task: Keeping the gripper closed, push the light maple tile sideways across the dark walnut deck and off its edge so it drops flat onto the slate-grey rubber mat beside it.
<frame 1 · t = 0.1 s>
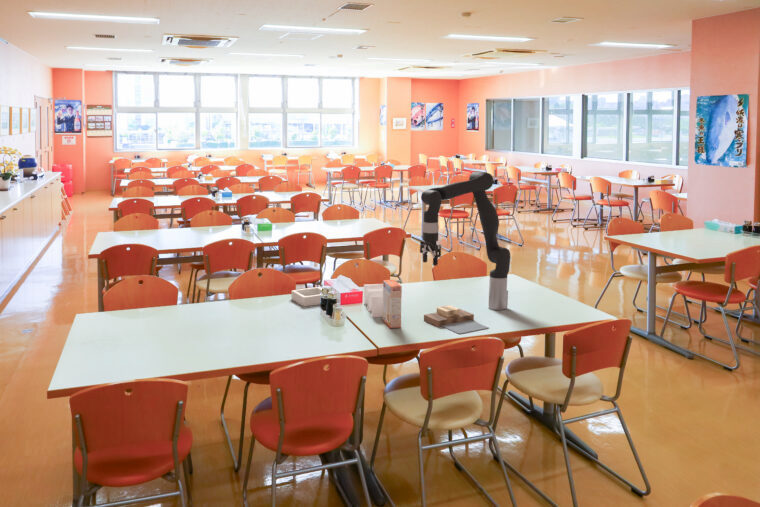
hand: (430, 263, 316), 29 cm above the table, fingers open, 8 cm apart
holder corral: (311, 300, 356), on the table
storage container: (378, 310, 340), on the table
maple tile: (447, 314, 323), point 3 cm above the table, touching walnut deck
cracker box: (391, 324, 316), on the table
rubber mat: (464, 327, 312), on the table
walnut deck: (448, 320, 322), on the table
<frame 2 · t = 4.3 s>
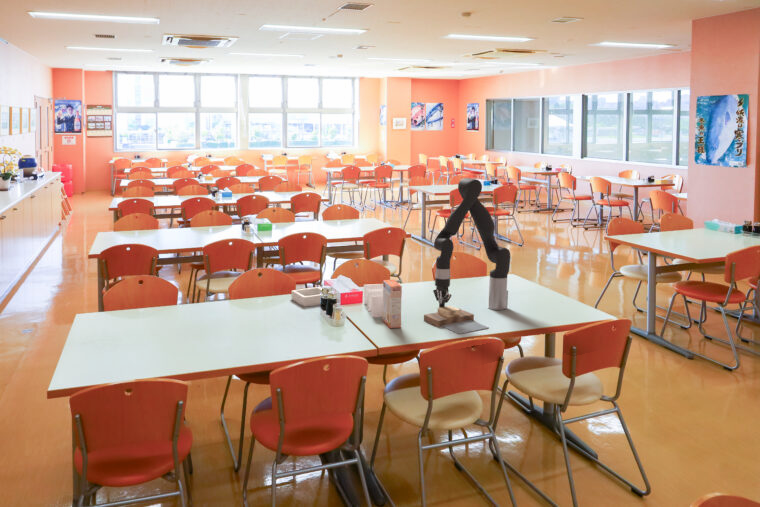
hand: (441, 309, 327), 4 cm above the table, fingers closed
maple tile: (448, 314, 322), point 3 cm above the table, touching gripper, walnut deck
everything else where it was.
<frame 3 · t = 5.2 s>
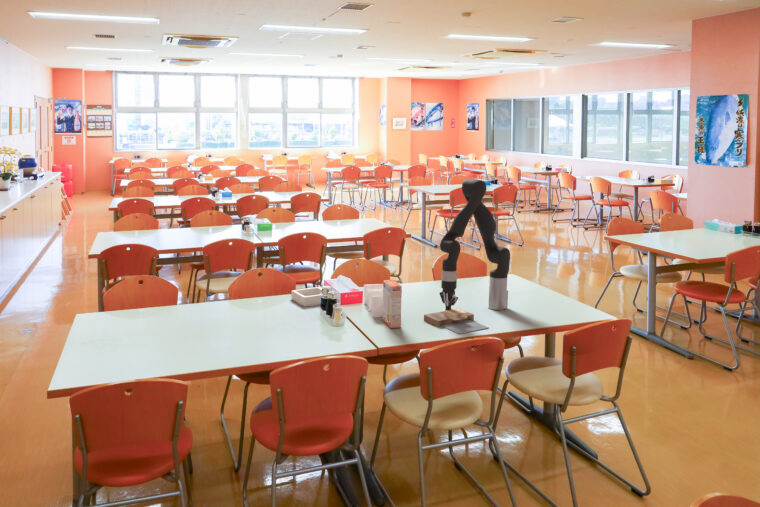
hand: (448, 312, 322), 4 cm above the table, fingers closed
maple tile: (455, 317, 317), point 3 cm above the table, touching gripper, walnut deck
everything else where it was.
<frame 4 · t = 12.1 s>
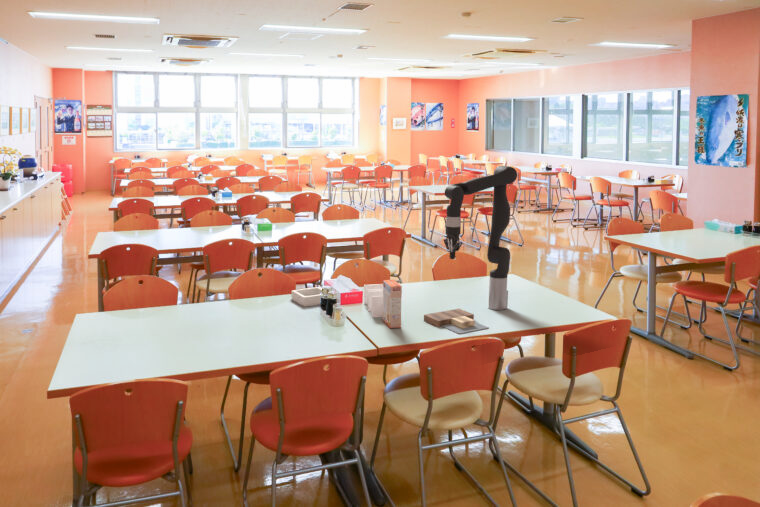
hand: (452, 258, 328), 29 cm above the table, fingers closed
maple tile: (462, 325, 313), resting on rubber mat
everything else where it was.
at the end: maple tile inside the target area (2.3 cm from its centre), resting on rubber mat; maple tile tilted 0° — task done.
